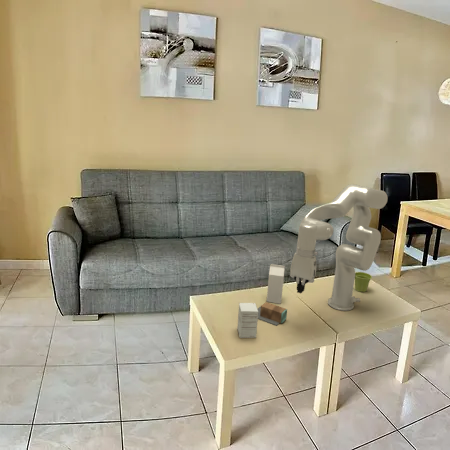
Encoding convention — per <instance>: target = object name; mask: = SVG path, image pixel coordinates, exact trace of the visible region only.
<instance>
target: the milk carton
mask: <svg viewBox="0 0 450 450" xmlns="http://www.w3.org/2000/svg"><path fill="white" fill-rule="evenodd" d="M285 267H286V266H285V265H279V264H272V263H271V264H270V265H269V272H268V273H269V274H268V279H267V280H268V282H267V293H266V302H267V303H271V304H282V300H283V299H282V297H283V287H284V279H285V278H284V277H285Z"/></svg>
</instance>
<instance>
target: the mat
mask: <svg viewBox="0 0 450 450" xmlns="http://www.w3.org/2000/svg"><path fill="white" fill-rule="evenodd" d="M257 309H258V321H259V320H260V321H263V322H265V323H268V324H271V325H272V326H276V327H277V326H278V325H280V323H279V322H276V321H273V320H271V319H268V318H265V317H262V316H260V311H261V306H259V307H257Z"/></svg>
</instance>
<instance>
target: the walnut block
mask: <svg viewBox="0 0 450 450" xmlns="http://www.w3.org/2000/svg"><path fill="white" fill-rule="evenodd" d="M260 307H261V311H260V316H262V317H265V318H268V319H271V320H273V321H276V322H279V324H283V323H284V322H285V321H286V320H287V316H288V309H287V308H285V307H282V306H279V305H276V304H274V303H271V302H267V301H265V302H264V303H263V304H261V305H260Z"/></svg>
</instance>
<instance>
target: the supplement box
mask: <svg viewBox="0 0 450 450" xmlns="http://www.w3.org/2000/svg"><path fill="white" fill-rule="evenodd" d="M258 321H259V319H258V307H257V304H256V302H238V315H237V326H236V327H237V331H238V337H239V338H240V339H244V338H246V339H247V338H248V339H249V338H250V339H251V338H257V330H258Z"/></svg>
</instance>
